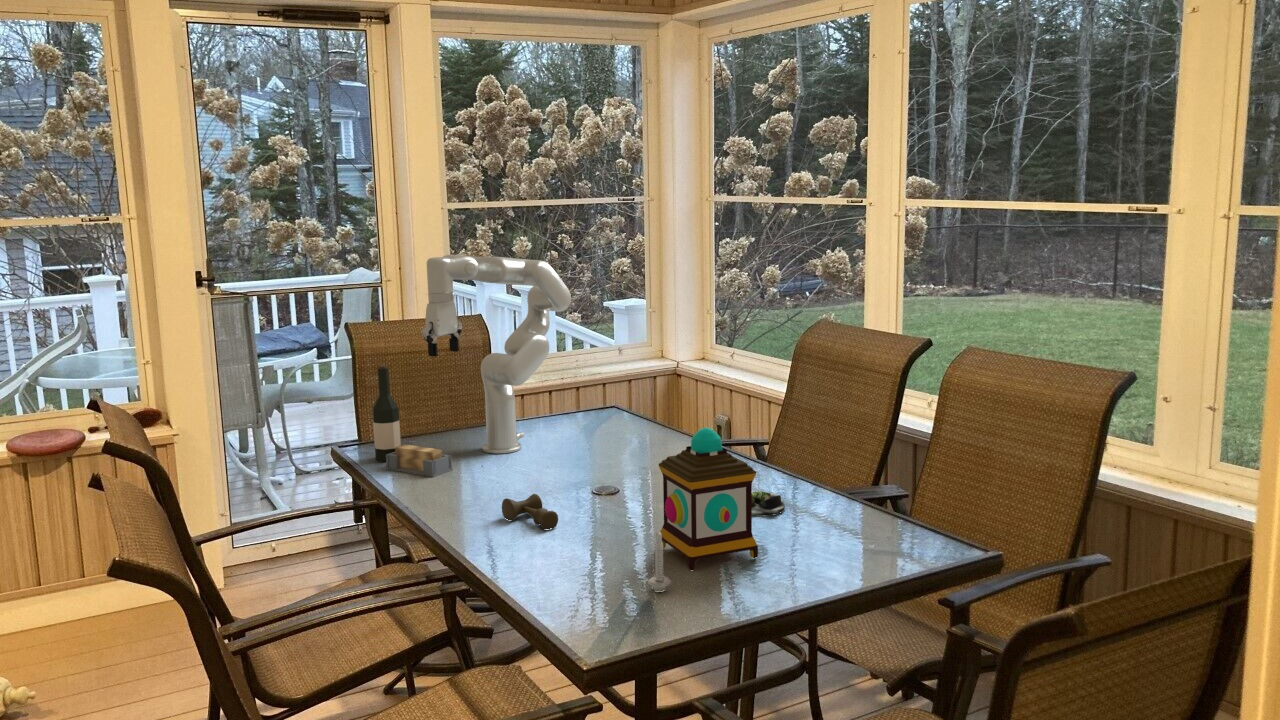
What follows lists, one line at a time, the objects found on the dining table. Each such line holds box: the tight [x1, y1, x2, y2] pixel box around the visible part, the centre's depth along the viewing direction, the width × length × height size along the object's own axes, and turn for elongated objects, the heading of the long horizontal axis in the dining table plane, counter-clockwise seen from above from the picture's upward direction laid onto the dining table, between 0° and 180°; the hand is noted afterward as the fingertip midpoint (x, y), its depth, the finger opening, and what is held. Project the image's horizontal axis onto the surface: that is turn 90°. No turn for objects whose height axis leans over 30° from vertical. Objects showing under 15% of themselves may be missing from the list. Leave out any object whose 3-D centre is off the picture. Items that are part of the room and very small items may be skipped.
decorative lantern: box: [658, 427, 759, 571], centre depth 237 cm, size 20×20×30 cm
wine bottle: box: [371, 364, 402, 463], centre depth 326 cm, size 8×8×30 cm
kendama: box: [501, 493, 559, 530], centre depth 265 cm, size 6×10×20 cm
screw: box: [647, 531, 672, 592], centre depth 217 cm, size 13×5×5 cm
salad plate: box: [752, 490, 786, 516], centre depth 272 cm, size 19×18×5 cm
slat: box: [395, 444, 443, 471], centre depth 315 cm, size 15×4×6 cm, turn 60°
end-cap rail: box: [385, 452, 453, 478], centre depth 315 cm, size 19×8×5 cm, turn 59°
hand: (443, 353), depth 317 cm, fingers open, 9 cm apart
